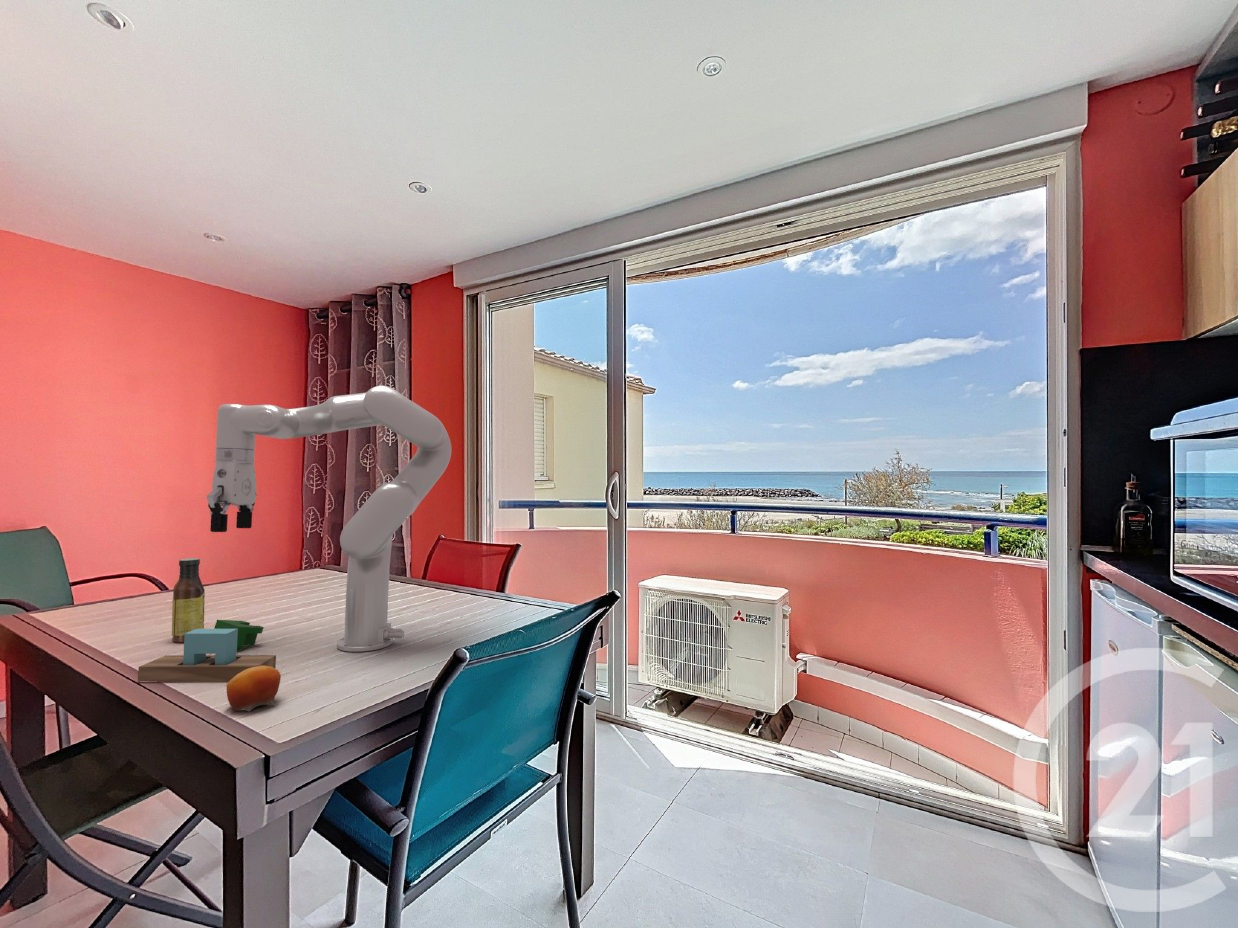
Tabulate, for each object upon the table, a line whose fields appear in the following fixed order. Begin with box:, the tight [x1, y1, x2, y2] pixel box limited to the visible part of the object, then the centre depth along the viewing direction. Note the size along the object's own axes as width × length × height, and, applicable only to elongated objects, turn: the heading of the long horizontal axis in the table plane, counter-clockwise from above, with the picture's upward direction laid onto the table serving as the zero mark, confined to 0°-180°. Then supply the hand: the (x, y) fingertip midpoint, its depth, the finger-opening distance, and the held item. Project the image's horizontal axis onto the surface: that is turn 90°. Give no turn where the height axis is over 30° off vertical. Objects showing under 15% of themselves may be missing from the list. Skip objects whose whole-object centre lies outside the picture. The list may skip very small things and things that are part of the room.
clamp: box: [213, 619, 264, 652], centre depth 130 cm, size 12×6×9 cm, turn 52°
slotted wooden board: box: [137, 654, 277, 683], centre depth 110 cm, size 7×22×3 cm, turn 95°
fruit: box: [225, 666, 282, 713], centre depth 96 cm, size 8×8×8 cm
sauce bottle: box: [171, 557, 206, 644], centre depth 133 cm, size 6×6×20 cm
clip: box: [183, 628, 238, 665], centre depth 110 cm, size 4×8×9 cm, turn 95°
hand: (231, 529), depth 126 cm, fingers open, 9 cm apart
